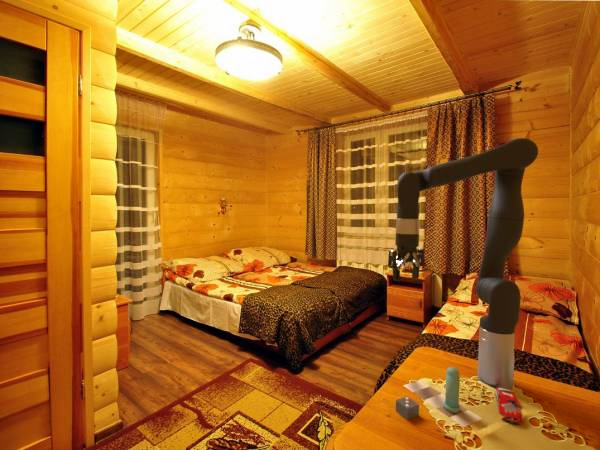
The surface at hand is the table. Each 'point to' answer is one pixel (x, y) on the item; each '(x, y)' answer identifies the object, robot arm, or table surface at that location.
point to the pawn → (452, 390)
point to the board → (441, 403)
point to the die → (407, 408)
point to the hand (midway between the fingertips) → (406, 279)
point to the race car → (508, 406)
